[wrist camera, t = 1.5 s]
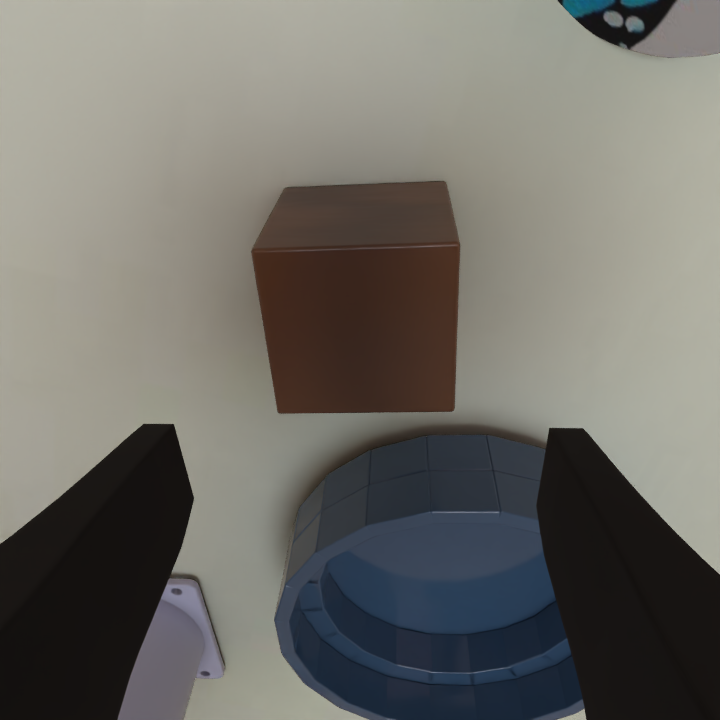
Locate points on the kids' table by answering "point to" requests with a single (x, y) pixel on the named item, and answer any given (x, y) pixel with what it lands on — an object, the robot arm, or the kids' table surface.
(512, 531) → the bowl
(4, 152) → the kids' table surface
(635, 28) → the decorative butterfly
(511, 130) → the kids' table surface
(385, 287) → the block
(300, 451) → the kids' table surface
